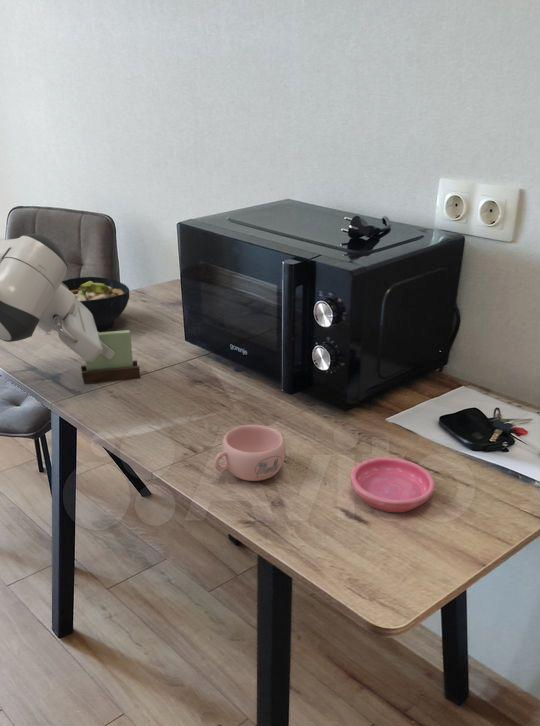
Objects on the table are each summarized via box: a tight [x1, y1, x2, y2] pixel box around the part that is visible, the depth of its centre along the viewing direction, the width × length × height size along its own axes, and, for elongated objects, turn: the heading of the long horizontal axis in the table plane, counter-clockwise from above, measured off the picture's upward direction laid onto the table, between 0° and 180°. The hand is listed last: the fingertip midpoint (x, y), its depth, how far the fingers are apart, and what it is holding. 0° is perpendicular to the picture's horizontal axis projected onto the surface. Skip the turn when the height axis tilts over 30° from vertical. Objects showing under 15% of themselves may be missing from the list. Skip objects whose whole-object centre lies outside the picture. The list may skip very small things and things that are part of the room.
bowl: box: [62, 276, 130, 333], centre depth 161 cm, size 17×17×10 cm
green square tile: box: [84, 329, 134, 371], centre depth 137 cm, size 9×1×9 cm, turn 107°
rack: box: [80, 359, 141, 385], centre depth 139 cm, size 11×4×2 cm, turn 107°
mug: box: [213, 424, 287, 482], centre depth 109 cm, size 12×10×6 cm
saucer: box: [350, 456, 436, 513], centre depth 106 cm, size 12×12×3 cm
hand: (111, 352), depth 137 cm, fingers closed on green square tile, 1 cm apart
